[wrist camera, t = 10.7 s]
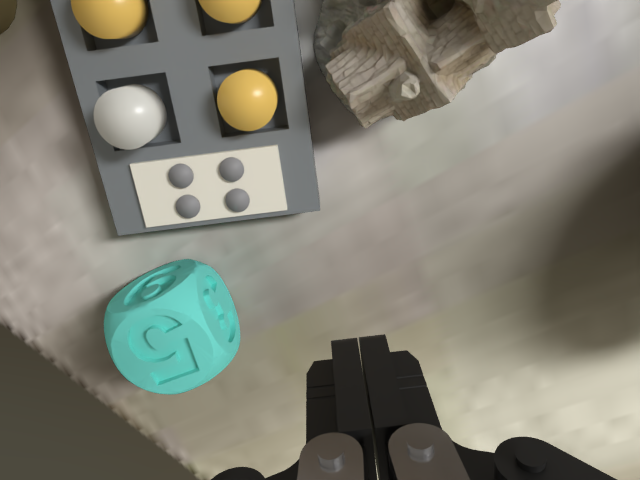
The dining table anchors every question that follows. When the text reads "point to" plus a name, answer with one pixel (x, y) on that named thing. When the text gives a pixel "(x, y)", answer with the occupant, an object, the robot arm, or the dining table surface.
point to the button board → (198, 117)
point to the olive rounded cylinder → (7, 13)
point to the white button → (129, 116)
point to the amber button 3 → (247, 99)
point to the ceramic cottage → (417, 49)
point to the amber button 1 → (111, 17)
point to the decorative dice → (172, 328)
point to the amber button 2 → (231, 9)
